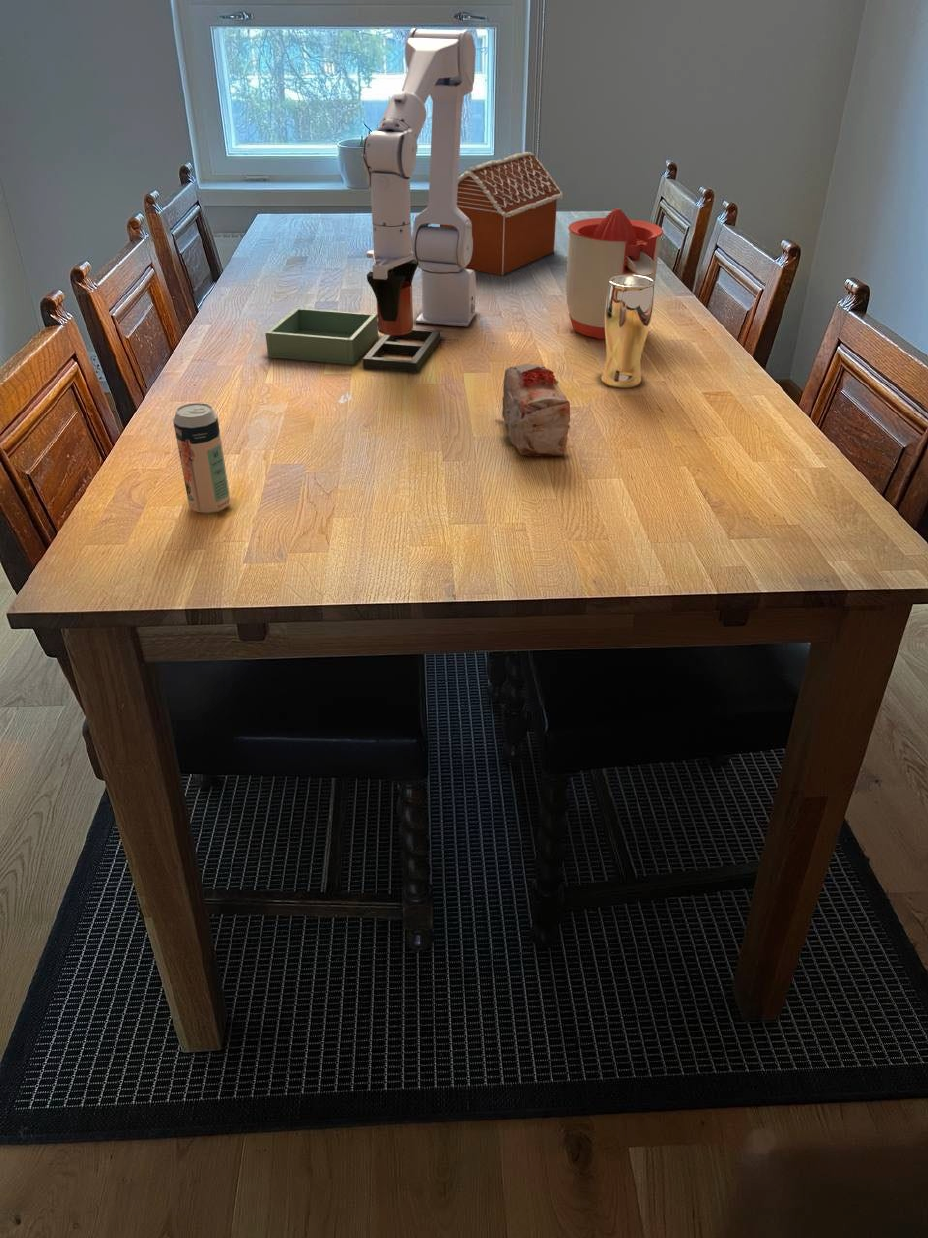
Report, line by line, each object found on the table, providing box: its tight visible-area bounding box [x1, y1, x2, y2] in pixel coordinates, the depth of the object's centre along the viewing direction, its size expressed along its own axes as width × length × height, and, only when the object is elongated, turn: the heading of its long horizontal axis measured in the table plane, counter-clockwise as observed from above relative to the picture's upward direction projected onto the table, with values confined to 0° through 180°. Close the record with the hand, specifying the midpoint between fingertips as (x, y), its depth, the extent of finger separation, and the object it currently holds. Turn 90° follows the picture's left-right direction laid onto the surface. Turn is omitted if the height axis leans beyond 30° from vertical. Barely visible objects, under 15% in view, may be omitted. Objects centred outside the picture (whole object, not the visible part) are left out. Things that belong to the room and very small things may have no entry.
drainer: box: [362, 327, 442, 373], centre depth 150 cm, size 9×16×2 cm, turn 168°
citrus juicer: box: [565, 207, 664, 341], centre depth 155 cm, size 16×17×20 cm
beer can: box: [172, 402, 232, 515], centre depth 104 cm, size 5×5×12 cm
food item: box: [501, 363, 571, 457], centre depth 120 cm, size 14×8×10 cm, turn 10°
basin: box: [264, 307, 379, 366], centre depth 151 cm, size 15×14×4 cm
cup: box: [375, 281, 414, 335], centre depth 143 cm, size 6×6×7 cm
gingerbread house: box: [439, 151, 564, 276], centre depth 194 cm, size 18×26×20 cm
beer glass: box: [600, 275, 656, 388], centre depth 137 cm, size 7×7×15 cm
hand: (394, 314), depth 143 cm, fingers closed on cup, 5 cm apart
